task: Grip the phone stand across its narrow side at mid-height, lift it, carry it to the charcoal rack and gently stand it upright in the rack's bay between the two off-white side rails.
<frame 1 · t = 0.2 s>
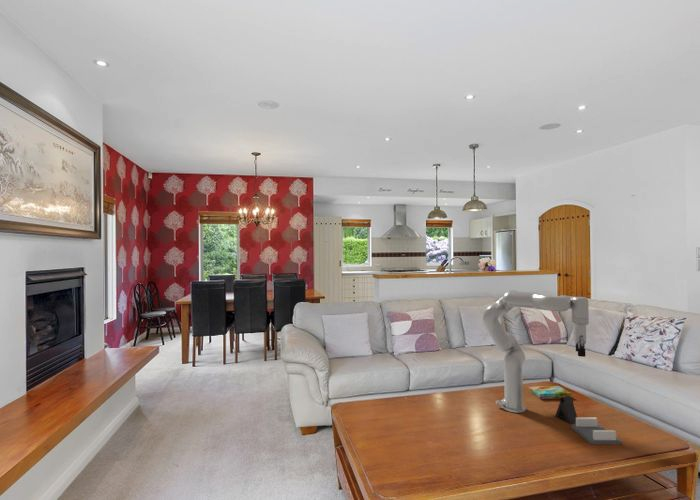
hand: (580, 353, 193), 36 cm above the table, tool pointing down, fingers open, 9 cm apart
puzzle game: (549, 396, 230), on the table
rack: (595, 435, 181), on the table
phone stand: (566, 419, 198), on the table
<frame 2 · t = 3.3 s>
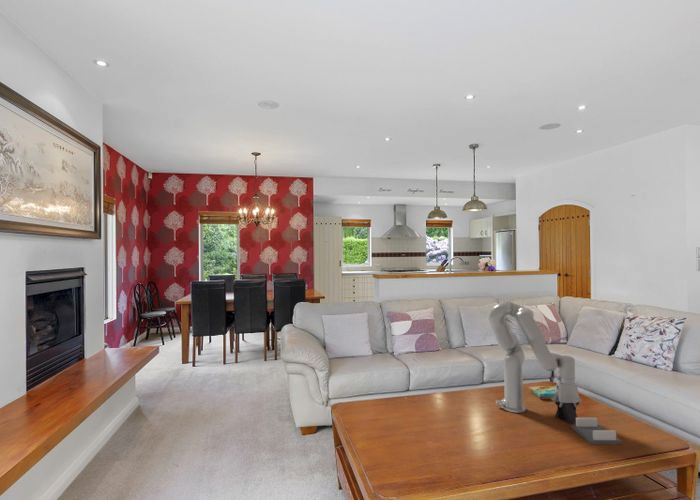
hand: (566, 413, 198), 3 cm above the table, tool pointing down, fingers closed on phone stand, 6 cm apart
phone stand: (566, 419, 198), on the table, touching gripper
everything else where it was.
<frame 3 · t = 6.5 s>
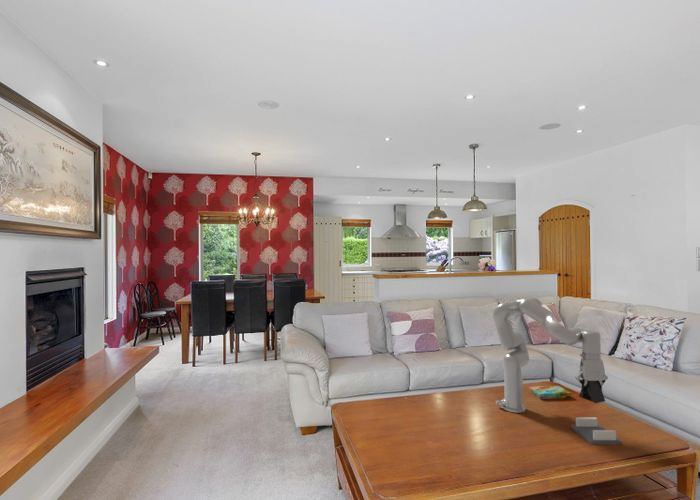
hand: (591, 392, 183), 20 cm above the table, tool pointing down, fingers closed on phone stand, 6 cm apart
phone stand: (591, 399, 183), point 17 cm above the table, touching gripper
everything else where it was.
when the fingers open (6 cm above the table, at t = 9.8 s): phone stand drops 1 cm, resting on rack.
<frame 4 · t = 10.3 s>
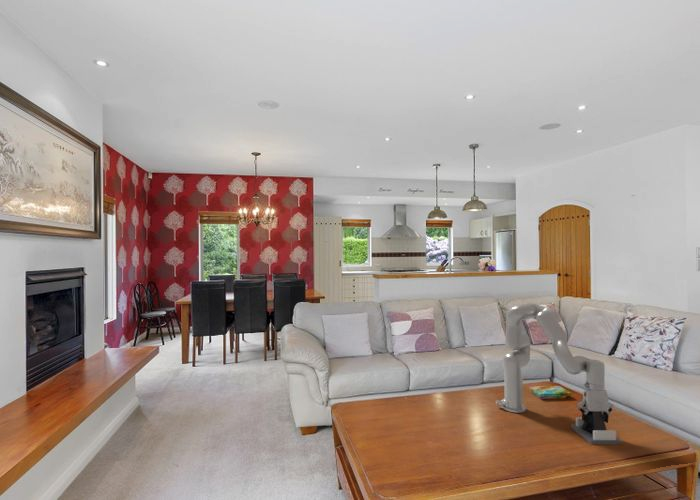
hand: (595, 421, 181), 7 cm above the table, tool pointing down, fingers open, 9 cm apart
phone stand: (594, 432, 181), point 1 cm above the table, touching rack
everything else where it was.
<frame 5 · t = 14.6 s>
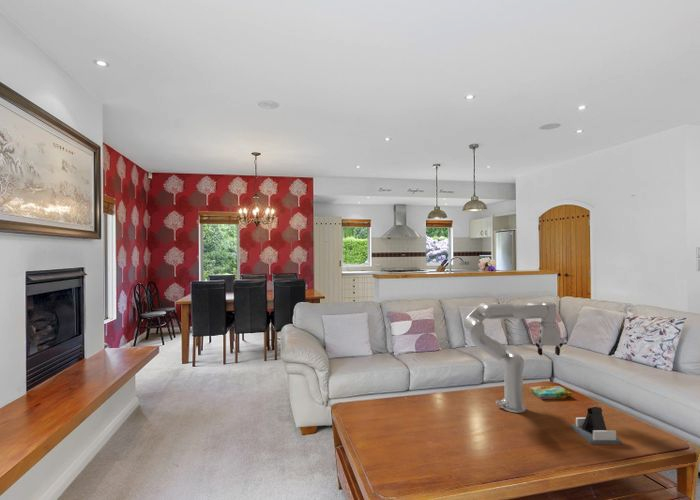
hand: (548, 354, 212), 30 cm above the table, tool pointing down, fingers open, 9 cm apart
nothing on the table moved.
at the end: phone stand 0.2 cm off-centre on the rack, point 1.3 cm above the rack's base; phone stand tilted 0°; the gripper is holding nothing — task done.
